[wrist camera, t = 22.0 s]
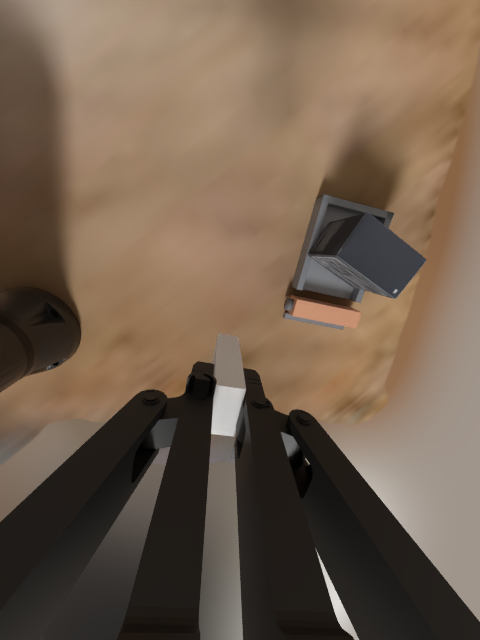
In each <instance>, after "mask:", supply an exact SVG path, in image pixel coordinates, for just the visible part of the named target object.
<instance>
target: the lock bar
mask: <svg viewBox="0 0 480 640" xmlns="http://www.w3.org/2000/svg"><path fill="white" fill-rule="evenodd" d="M284 310H287V311H288V312H289V313H290V314H291V315H292V316H295V317H300V318H305V319H310V320H315V321H320V322H325V323H330V324H335V325H340V326H346V327H351V328H356V327H357V324H358V322H359V319H360V316H361V314H362V313H361V312H359V311H357V310H355V309H353V308H351V307H347V306H343V305H338V304H333V303H328V302H323V301H319V300H314V299H309V298H304V297H299V296H295V295H291V296H290V298H287V299H286V300H285V304H284Z"/></svg>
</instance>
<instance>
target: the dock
mask: <svg viewBox="0 0 480 640" xmlns="http://www.w3.org/2000/svg"><path fill="white" fill-rule="evenodd" d="M366 212H369V213H370V214H371V215H372V216H374V217H375V218H376V219H377V220H378V221H380V222H381V223H382V224H383V225H385V226H386V227H387V228H389V225H390V223H391V220H392V218H393V215H394V213H392V212H388V211H385V210H381V209H377V208H373V207H370V206H366V205H362V204H359V203H355V202H351V201H348V200H344V199H340V198H336V197H333V196H329V195H325V194H324V195H322V196H320V197H318V198H316V202H315V205H314V209H313V212H312V216H311V219H310V223H309V226H308V230H307V234H306V237H305V241H304V244H303V248H302V251H301V255H300V258H299V262H298V265H297V269H296V273H295V276H294V280H293V283H292V287H294V288H295V289H297V290H308V291H313V292H317V293H322V294H327V295H331V296H336V297H341V298H346V299H350V300H352V301H355V302H359V303H361V300H362V297H363V295H364V292H365V290H361V289H357V288H353V287H352V286H350V285H349V284H347V283H346V282H344V281H343V280H342V279H340V278H339V277H337V276H336V275H335V274H333V273H332V272H330V271H329V270H328V269H326V268H325V267H323V266H322V265H321V264H319V263H318V262H317V261H315V260H314V259H312V258H311V257H310V256H308V253H309V251H310V250H311V248H312V247H313V245H314V244H315V242H316V241H317V239H318V238H319V236H320V235H321V234H322V232H323V231H324V229H325V228H326V226H327V225H328V224H329V222H332V221H336V220H340V219H344V218H348V217H352V216H355V215H359V214H363V213H366ZM283 317H284V318H285V319H290V320H295V321H301V322H306V323H311V324H316V325H321V326H326V327H331V328H337V329H342V330H343V328H344V326H340V325H335V324H330V323H325V322H320V321H315V320H310V319H305V318H300V317H295V316H292V315H291V314H290V313H288V312H284V315H283Z"/></svg>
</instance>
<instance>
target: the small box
mask: <svg viewBox="0 0 480 640" xmlns="http://www.w3.org/2000/svg"><path fill="white" fill-rule="evenodd" d="M308 256H310V257H311V258H312V259H314V260H315V261H317V262H318V263H319V264H321V265H322V266H323V267H325V268H326V269H328V270H329V271H330V272H332V273H333V274H335V275H336V276H337V277H339V278H340V279H342V280H343V281H344V282H346V283H347V284H349V285H350V286H352V287H353V288H357V289H361V290H365V291H369V292H372V293H375V294H379V295H383V296H386V297H390V298H393V299H396V298H397V297H398V296H399V294H400V293H401V292H402V291H403V289H404V288H405V287H406V286H407V284H408V283H409V282H410V280H411V279H412V278H413V277H414V275H415V274H416V273H417V272H418V271H419V269H420V268H421V267H422V265H423V264H424V263H425V262H426V259H425V258H424V257H423V256H422V255H420V254H419V253H418V252H417V251H415V250H414V249H413V248H412V247H410V246H409V245H408V244H407V243H405V242H404V241H403V240H402V239H400V238H399V237H398V236H397V235H396V234H394V233H393V232H392V231H391V230H389V229H388V228H387V227H386V226H385V225H383V224H382V223H381V222H380V221H378V220H377V219H376V218H375V217H374V216H372V215H371V214H370V213H369V212H366V213H363V214H359V215H355V216H352V217H348V218H344V219H340V220H336V221H332V222H329V224H328V225H327V226H326V228H325V229H324V231H323V232H322V234H321V235H320V236H319V238H318V239H317V241H316V242H315V244H314V245H313V247H312V248H311V250H310V251H309V253H308Z"/></svg>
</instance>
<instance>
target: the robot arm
mask: <svg viewBox="0 0 480 640" xmlns="http://www.w3.org/2000/svg"><path fill="white" fill-rule="evenodd" d="M79 343H80V328H79V324H78V322H77V319H76V317H75V316H74V314H73V312H72V311H71V310H70V309H69V307H68V306H67V305H66V304H65V303H64V302H62V301H61V300H60V299H58V298H57V297H55V296H54V295H52V294H50V293H48V292H45V291H43V290H39V289H35V288H16V289H11V290H6V291H2V292H0V392H2V391H3V390H5V389H6V388H8V387H9V386H11V385H12V384H14V383H15V382H16V381H18V380H20V379H21V378H23V377H25V376H29V375H33V374H36V373H40V372H44V371H47V370H51V369H53V368H56V367H58V366H60V365H61V364H63V363H64V362H65V361H67V360H68V359H69V358H71V357H72V356H73V355H74V353H75V352H76V351H77V349H78V346H79ZM235 431H236V433H237V436H236V440H235V444H234V448H233V452H232V456H231V458H234V454H235V470H236V491H237V514H238V535H239V558H240V580H241V602H242V622H243V623H242V624H243V640H354V639H353V637H352V636H351V635H349V633H347V632H346V631H345V630H343V629H342V628H341V626H340V624H339V623H338V621H337V618H336V615H335V613H334V609H333V606H332V602H331V599H330V596H329V593H328V589H327V586H326V582H325V579H324V576H323V572H322V569H321V566H320V563H319V559H318V555H317V552H318V554H319V556H320V558H321V560H322V562H323V564H324V567H325V569H326V571H327V573H328V575H329V577H330V579H331V581H332V583H333V585H334V587H335V590H336V592H337V594H338V596H339V598H340V600H341V602H342V604H343V606H344V608H345V610H346V613H347V615H348V617H349V619H350V621H351V623H352V625H353V627H354V629H355V631H356V633H357V636H358V638H359V640H480V622H479V621H478V619H477V618H476V617H475V616H474V614H473V613H472V612H471V611H470V610H469V608H468V607H467V606H466V604H465V603H464V602H463V601H462V600H461V598H460V597H459V596H458V595H457V593H456V592H455V591H454V590H453V588H452V587H451V586H450V585H449V584H448V582H447V581H446V580H445V579H444V577H443V576H442V575H441V574H440V572H439V571H438V570H437V569H436V567H435V566H434V565H433V564H432V562H431V561H430V560H429V559H428V557H426V555H425V554H424V553H423V551H422V550H421V549H420V548H419V546H418V545H417V544H416V543H415V541H414V540H413V539H412V538H411V536H410V535H409V534H408V533H407V532H406V531H405V529H404V528H403V527H402V526H401V524H400V523H399V522H398V520H397V519H396V518H395V517H394V515H393V514H392V513H391V512H390V511H389V509H388V508H387V507H386V506H385V504H384V503H383V502H382V501H381V499H380V498H379V497H378V496H377V495H376V493H375V492H374V491H373V490H372V488H371V487H370V486H369V485H368V483H367V482H366V481H365V480H364V478H363V477H362V476H361V475H360V473H359V472H358V471H357V470H356V468H355V467H354V466H353V465H352V464H351V463H350V461H349V460H348V459H347V457H346V456H345V455H344V454H343V452H342V451H341V450H340V449H339V448H338V446H337V445H336V444H335V443H334V441H333V440H332V439H331V438H330V436H329V435H328V434H327V433H326V431H325V430H324V429H323V428H322V427H321V425H320V424H319V423H318V422H317V420H316V419H315V418H314V417H313V416H312V415H311V414H309V413H307V412H305V411H302V410H297V409H296V410H292V411H291V412H290V413H289V416H288V415H285V414H283V413H280V412H278V411H276V410H274V408H273V405H272V403H271V402H270V401H269V400H268V399H267V398H265V394H264V391H263V387H262V383H261V380H260V376H259V374H258V373H257V372H256V371H255V370H251V369H245V368H243V365H242V358H241V351H240V345H239V338H238V336H232V335H226V334H221V333H218V336H217V341H216V346H215V350H214V355H213V360H212V364H211V363H205V362H199V361H198V362H197V363H195V364H194V365H193V368H192V372H191V374H190V375H189V376H188V379H187V384H186V390H185V393H184V394H183V395H181V396H179V397H175V398H167V396H166V395H165V394H164V393H163V392H161V391H159V390H145V391H141V392H140V393H138V394H137V395H135V396H134V397H133V398H132V399H131V400H130V401H129V402H128V403H127V404H126V405H125V406H124V407H123V408H122V409H121V410H119V411H118V412H117V413H116V414H115V415H114V416H113V417H112V418H111V419H110V420H109V421H108V422H107V423H106V424H105V425H104V426H102V427H101V428H100V429H99V430H98V431H97V432H96V433H95V434H94V435H93V436H92V437H91V438H90V439H89V440H88V441H86V442H85V443H84V444H83V445H82V446H81V447H80V448H79V449H78V450H77V451H76V452H75V453H74V454H73V455H72V456H70V457H69V458H68V459H67V460H66V461H65V462H64V463H63V464H62V465H61V466H60V467H59V468H58V469H57V470H56V471H54V472H53V473H52V474H51V475H50V476H49V477H48V478H47V479H46V480H45V481H44V482H43V483H42V484H41V485H40V486H38V487H37V488H36V489H35V490H34V491H33V492H32V493H31V494H30V495H29V496H28V497H27V498H26V499H25V500H24V501H22V502H21V503H20V504H19V505H18V506H17V507H16V508H15V509H14V510H13V511H12V512H11V513H10V514H9V515H7V516H6V518H4V519H3V520H2V521H1V522H0V640H40V638H41V637H42V635H43V634H44V632H45V630H46V629H47V627H48V626H49V624H50V623H51V621H52V620H53V618H54V616H55V615H56V613H57V611H58V610H59V608H60V607H61V605H62V604H63V602H64V601H65V599H66V597H67V596H68V594H69V593H70V591H71V590H72V588H73V586H74V585H75V583H76V582H77V580H78V578H79V577H80V575H81V574H82V572H83V571H84V569H85V567H86V566H87V564H88V563H89V561H90V560H91V558H92V556H93V555H94V553H95V552H96V550H97V548H98V547H99V545H100V544H101V542H102V541H103V539H104V537H105V536H106V534H107V533H108V531H109V530H110V528H111V526H112V525H113V523H114V522H115V520H116V518H117V517H118V515H119V514H120V512H121V511H122V509H123V507H124V506H125V504H126V503H127V501H128V500H129V498H130V496H131V495H132V493H133V492H134V490H135V489H136V487H137V485H138V484H139V482H140V481H141V479H142V477H143V476H144V474H145V473H146V471H147V470H148V468H149V466H150V465H151V463H152V462H153V460H154V459H155V457H156V455H157V454H158V452H159V449H160V448H165V447H171V448H170V451H169V455H168V459H167V463H166V466H165V470H164V474H163V478H162V481H161V486H160V489H159V493H158V496H157V500H156V504H155V508H154V511H153V515H152V519H151V523H150V526H149V530H148V534H147V538H146V541H145V545H144V549H143V553H142V557H141V560H140V564H139V568H138V571H137V575H136V579H135V583H134V587H133V590H132V594H131V598H130V601H129V605H128V609H127V612H126V616H125V619H124V623H123V625H122V628H121V630H120V632H119V635H118V638H117V640H200V631H199V623H198V622H199V620H198V619H199V601H200V587H201V572H202V557H203V544H204V529H205V515H206V500H207V486H208V485H207V484H208V471H209V457H210V443H211V434H218V435H226V436H234V435H235ZM305 458H307V460H308V461H309V463H310V465H309V464H308V463H307V462H306V460H305ZM315 548H316V549H315ZM316 550H317V552H316Z"/></svg>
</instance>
